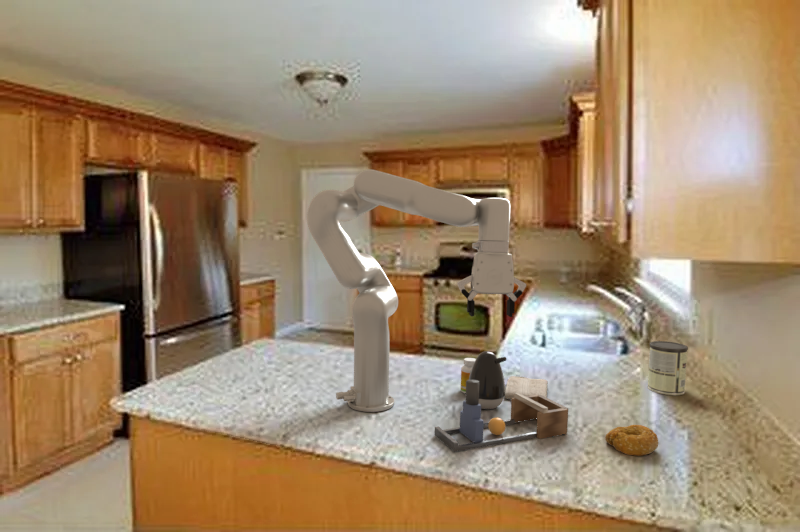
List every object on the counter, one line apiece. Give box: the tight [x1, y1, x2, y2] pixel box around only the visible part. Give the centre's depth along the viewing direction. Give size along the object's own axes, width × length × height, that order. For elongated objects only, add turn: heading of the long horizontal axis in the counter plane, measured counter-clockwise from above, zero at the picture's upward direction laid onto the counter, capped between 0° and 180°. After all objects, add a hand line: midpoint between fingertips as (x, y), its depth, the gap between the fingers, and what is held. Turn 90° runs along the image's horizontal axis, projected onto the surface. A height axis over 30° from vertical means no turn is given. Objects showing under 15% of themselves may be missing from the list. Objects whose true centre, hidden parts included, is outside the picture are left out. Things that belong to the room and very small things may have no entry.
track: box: [434, 418, 537, 453], centre depth 119 cm, size 22×9×2 cm, turn 113°
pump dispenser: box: [469, 350, 507, 410], centre depth 138 cm, size 10×10×15 cm
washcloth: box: [504, 375, 548, 400], centre depth 151 cm, size 12×18×3 cm, turn 164°
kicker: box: [459, 380, 485, 443], centre depth 117 cm, size 3×7×13 cm, turn 23°
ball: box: [487, 416, 506, 436], centre depth 120 cm, size 4×4×4 cm
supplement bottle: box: [460, 357, 476, 394], centre depth 150 cm, size 5×5×10 cm
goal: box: [510, 393, 569, 440], centre depth 124 cm, size 9×11×7 cm
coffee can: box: [647, 340, 689, 396], centre depth 155 cm, size 10×10×14 cm
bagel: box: [604, 424, 659, 457], centre depth 114 cm, size 10×11×5 cm
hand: (490, 315), depth 128 cm, fingers open, 9 cm apart
